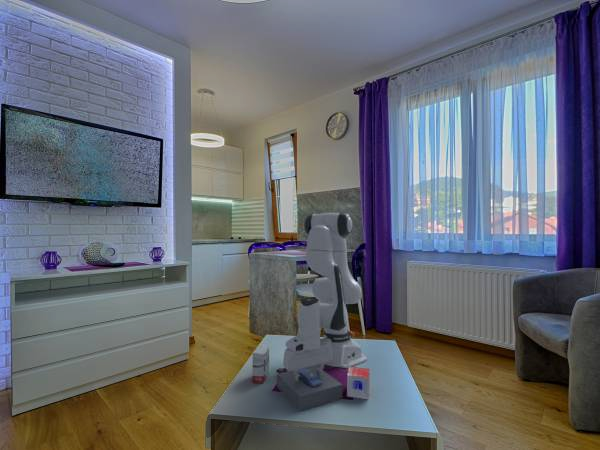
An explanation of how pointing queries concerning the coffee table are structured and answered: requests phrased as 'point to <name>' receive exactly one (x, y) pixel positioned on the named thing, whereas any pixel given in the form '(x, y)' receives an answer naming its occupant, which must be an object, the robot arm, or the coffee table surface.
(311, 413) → the coffee table surface
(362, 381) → the white red cube carton
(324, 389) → the plate
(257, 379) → the ink box
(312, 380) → the block
